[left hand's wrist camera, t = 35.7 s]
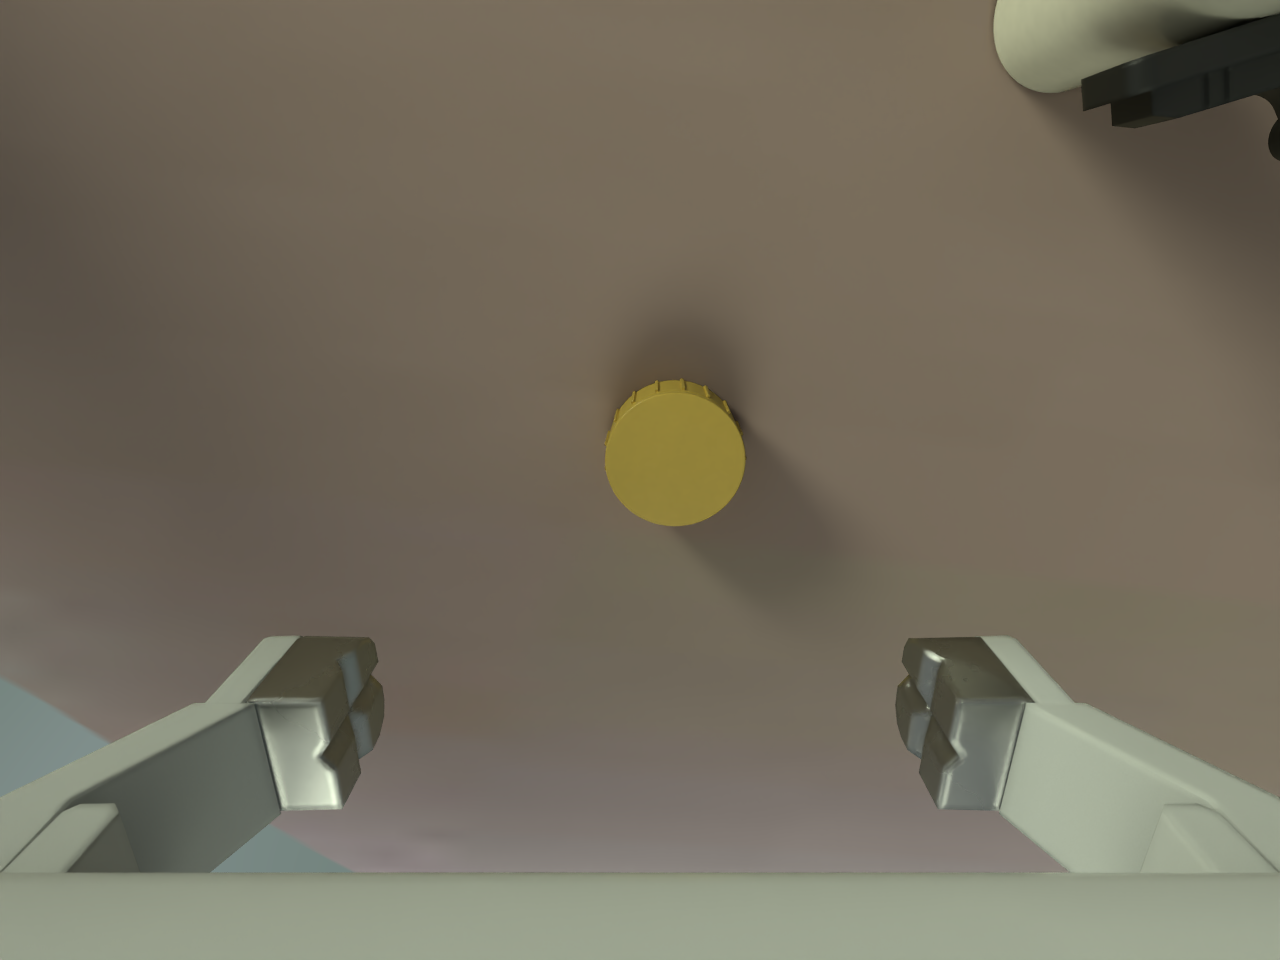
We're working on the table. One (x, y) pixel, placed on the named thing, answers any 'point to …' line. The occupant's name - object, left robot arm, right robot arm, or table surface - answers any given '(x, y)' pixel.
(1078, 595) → the table surface
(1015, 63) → the pale cream cylinder
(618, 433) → the lid
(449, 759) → the table surface
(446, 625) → the table surface
